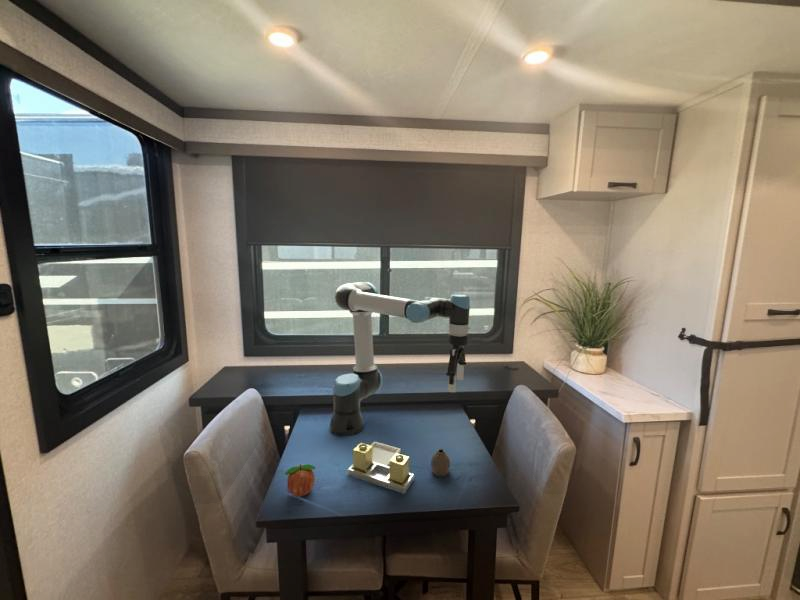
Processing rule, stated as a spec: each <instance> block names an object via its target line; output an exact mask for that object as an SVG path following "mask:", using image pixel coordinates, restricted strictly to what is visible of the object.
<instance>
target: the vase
mask: <svg viewBox="0 0 800 600" xmlns="http://www.w3.org/2000/svg"><path fill="white" fill-rule="evenodd" d="M430 469H431V471H432V473H433V474H434V475H435V476H437V477H445V476H447V475H448V474H449V472H450V471H451V470H450V469H451V461H450V458H449V456H448V454H447V453H446V451H445V450H444V449H443V448H442V449H441V448H439V449H438V450H437V451H436V452H435V453H434V454H433V456H432V458H431V461H430Z"/></svg>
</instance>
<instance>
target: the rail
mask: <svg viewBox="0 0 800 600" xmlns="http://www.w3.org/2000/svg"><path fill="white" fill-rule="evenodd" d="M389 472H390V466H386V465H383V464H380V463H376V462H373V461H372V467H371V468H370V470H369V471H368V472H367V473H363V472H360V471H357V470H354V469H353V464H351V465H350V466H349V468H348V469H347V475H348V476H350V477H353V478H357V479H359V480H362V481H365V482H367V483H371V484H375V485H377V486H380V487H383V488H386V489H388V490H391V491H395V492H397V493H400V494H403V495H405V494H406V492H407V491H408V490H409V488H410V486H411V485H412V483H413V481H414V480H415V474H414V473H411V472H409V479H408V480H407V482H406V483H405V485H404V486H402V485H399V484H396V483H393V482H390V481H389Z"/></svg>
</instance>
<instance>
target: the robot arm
mask: <svg viewBox="0 0 800 600" xmlns="http://www.w3.org/2000/svg"><path fill="white" fill-rule="evenodd" d="M334 299H335V302H336V305H337V306H338V307H340V308H341V309H342V310H344V311H345V310H346V311H348V312H349V313H350V314H351V315H352V321H353V323H352V324H353V339H354V340H353V341H354V357H355V365H354V366H353V368H352V373H351V372H350V373H346V374H345V373H343V374H341V375H339V376H337V377H336V378H335V379H334V381H333V387H332V393H333V413H332V415H331V419H330V423H329V431H330V432H331V433H332V434H334V435H336V436H340V437H344V436H353V435H357V434H359V433H361V432H362V431H363V430H364V427H365V425H364V424H365V421H364V419H363V416H362V415H363V414H362V412H361V401H362V400H364V399H366V398H368V397H369V396H371V395H374V394H375V393H376V392H378V391H379V390H380V389H381V388H382V385H383V375H382V373H381V372H380V369H378V366H377V364H375V362H374V356H375V355H374V344H373V343H374V341H373V320H372V313H375V314H380V315H387V316H391V317H396V318H397V317H398V318H401V319H402V318H403V319H406V320H408V321H410V322H411V323H413V324H419V323H420V324H421V323H424V322H426V321H428V320H431V319H434V318H445V319H449V320H448V321H449V322H448V333H449V334H448V339H447V340H448V344H450V345H452V348H451V349H449V351H450V352H449V360H448V365H447V373H446V374H445V375H446V376H448V379H447V380H448V382H447V392H449V393H456V386H457V384H456V383H457V382H456V381H464V374H465V373H464V371H465V366H466V365H467V362H466V352H465V351H466V350H465V347H466V346H467V345H468V344H469V343H468V341H469V336H468V334H469V330H470V326H469V325H470V324H469V321H470V308H471V306H470V305H471V304H470V297H469V295H467V294H457V293H455V294H451V295H450V298H443V297H442V298H441V297H434V296H430V297H429V296H425V297H423V299H422V300H416V299H412V298H411V299H410V298H403V297H398V296H391V295H384V294H379V291H378V289H377V287H376V286H375V285H374V284H373V283H372V282H367V281H358V282H350V283H345V284H342V285H340V286H339V287H338V288H337V289H336V291H335V295H334Z"/></svg>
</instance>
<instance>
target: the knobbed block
mask: <svg viewBox="0 0 800 600" xmlns="http://www.w3.org/2000/svg"><path fill="white" fill-rule="evenodd" d="M389 467H390V472H389V481H390V482H393V483H396V484H399V485H402V486H404V485H405V483H406V482H407V480H408V479H409V473H410V456H407V455H404V454H401V453H400V454H398V453H396V454H395V455H394V456H393V457H392V459H391V460H390V466H389Z"/></svg>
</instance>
